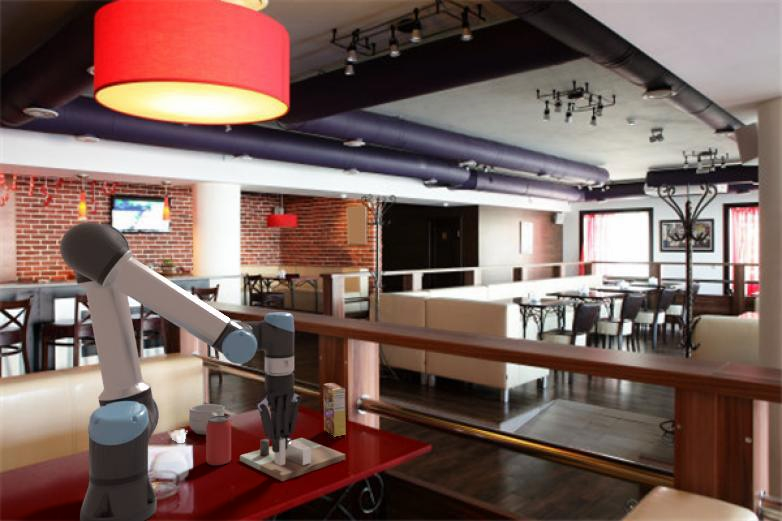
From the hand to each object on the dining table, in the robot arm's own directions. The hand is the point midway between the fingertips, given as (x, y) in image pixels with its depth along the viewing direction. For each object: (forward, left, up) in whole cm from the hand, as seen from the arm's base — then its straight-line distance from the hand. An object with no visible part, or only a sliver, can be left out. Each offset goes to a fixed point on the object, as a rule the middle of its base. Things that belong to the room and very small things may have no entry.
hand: (279, 463), depth 146 cm
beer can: (-7, +20, -3) cm, 21 cm away
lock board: (+8, +6, -3) cm, 11 cm away
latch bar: (+6, +2, -1) cm, 7 cm away
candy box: (+31, +16, -3) cm, 35 cm away
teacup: (+3, +45, -3) cm, 45 cm away
